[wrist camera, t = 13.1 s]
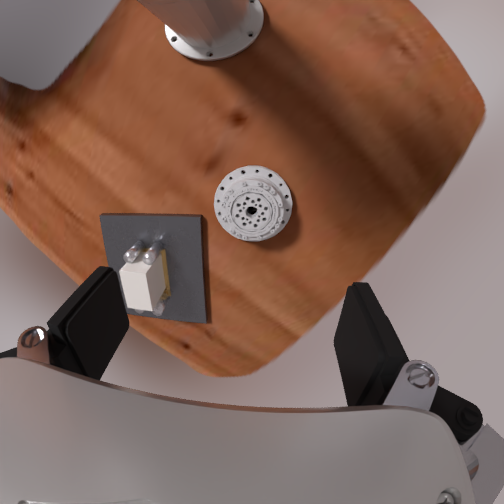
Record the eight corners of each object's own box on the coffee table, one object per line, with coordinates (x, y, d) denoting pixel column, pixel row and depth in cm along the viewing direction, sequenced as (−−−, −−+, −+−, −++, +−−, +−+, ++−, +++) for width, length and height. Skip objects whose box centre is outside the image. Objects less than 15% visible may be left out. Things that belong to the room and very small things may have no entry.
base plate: (102, 213, 37) (85, 224, 33) (201, 214, 37) (192, 227, 32) (122, 309, 45) (111, 326, 40) (207, 319, 44) (201, 340, 40)
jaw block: (136, 251, 38) (119, 270, 33) (161, 252, 38) (145, 273, 33) (142, 285, 41) (127, 307, 35) (165, 287, 41) (152, 311, 35)
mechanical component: (305, 189, 35) (238, 151, 33) (310, 198, 31) (234, 154, 29) (267, 249, 39) (203, 215, 37) (266, 264, 35) (195, 227, 33)
